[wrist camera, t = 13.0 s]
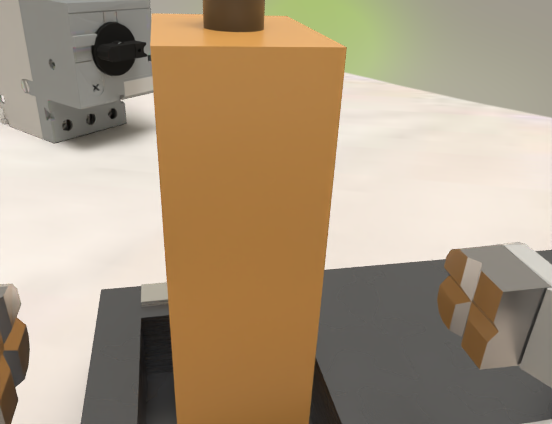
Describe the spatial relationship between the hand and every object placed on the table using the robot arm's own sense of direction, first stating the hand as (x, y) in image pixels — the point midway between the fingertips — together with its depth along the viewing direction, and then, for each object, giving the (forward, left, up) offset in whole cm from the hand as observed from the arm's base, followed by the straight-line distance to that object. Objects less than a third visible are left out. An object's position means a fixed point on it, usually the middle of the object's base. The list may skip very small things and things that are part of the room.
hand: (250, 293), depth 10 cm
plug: (-2, -2, -8) cm, 8 cm away
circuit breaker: (-15, -36, -9) cm, 40 cm away
